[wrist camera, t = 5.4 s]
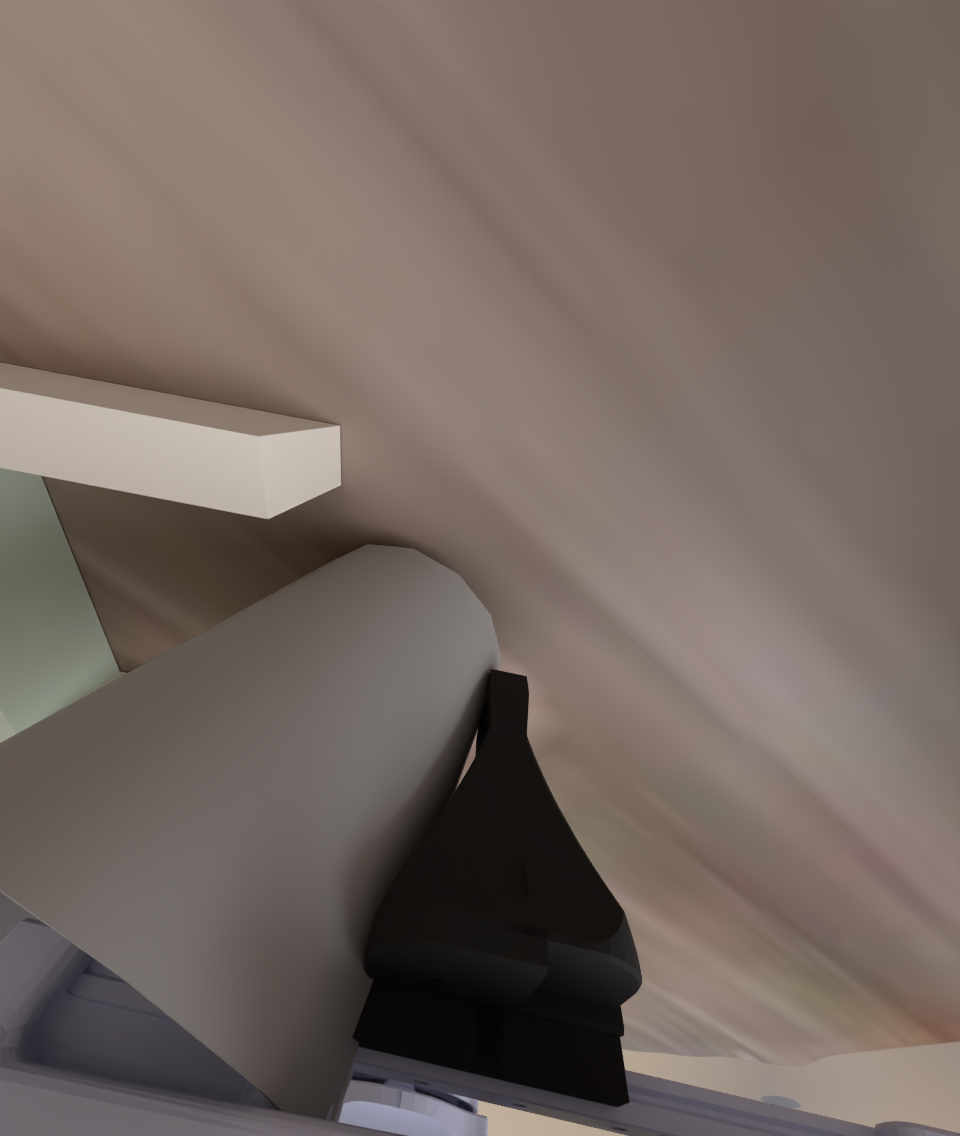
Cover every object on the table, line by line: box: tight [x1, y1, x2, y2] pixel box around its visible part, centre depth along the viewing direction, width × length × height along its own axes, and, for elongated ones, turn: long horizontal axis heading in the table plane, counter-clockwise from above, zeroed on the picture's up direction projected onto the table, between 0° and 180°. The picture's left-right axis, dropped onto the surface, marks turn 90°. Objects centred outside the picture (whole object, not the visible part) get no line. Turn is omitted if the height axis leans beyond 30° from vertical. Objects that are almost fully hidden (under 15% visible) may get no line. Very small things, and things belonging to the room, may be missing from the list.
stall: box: [0, 363, 341, 743], centre depth 13 cm, size 16×14×4 cm
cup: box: [0, 544, 502, 1121], centre depth 10 cm, size 8×8×10 cm
